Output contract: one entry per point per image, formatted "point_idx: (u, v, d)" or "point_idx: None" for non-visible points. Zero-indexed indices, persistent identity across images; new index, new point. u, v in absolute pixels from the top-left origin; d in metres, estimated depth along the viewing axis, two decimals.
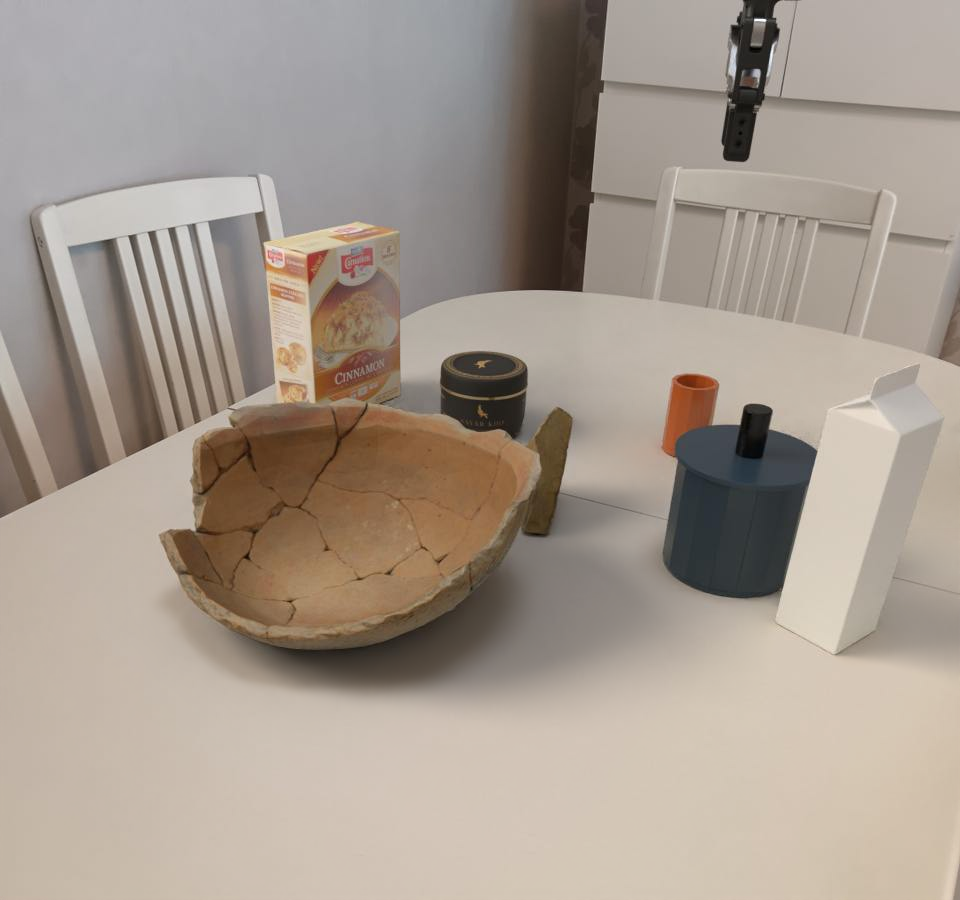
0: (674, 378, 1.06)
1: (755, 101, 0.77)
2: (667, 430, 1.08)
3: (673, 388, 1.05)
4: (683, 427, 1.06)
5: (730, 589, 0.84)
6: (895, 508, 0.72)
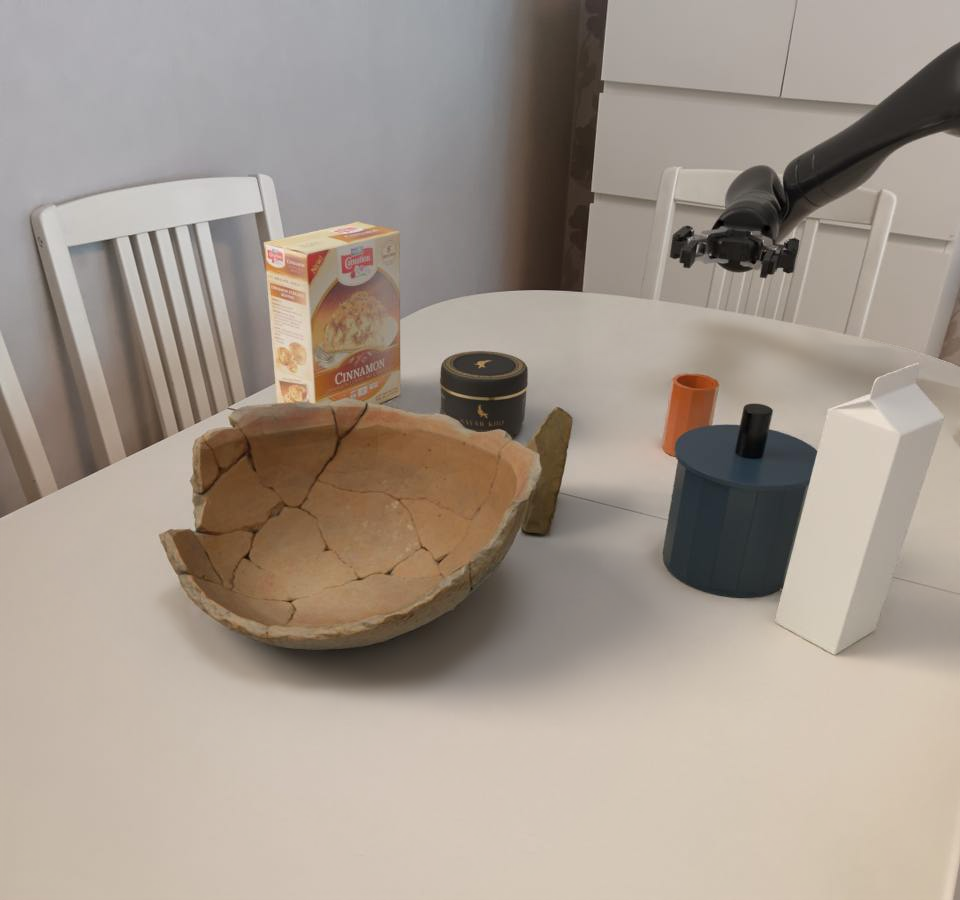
0: (674, 378, 1.06)
1: (672, 240, 1.12)
2: (667, 430, 1.08)
3: (673, 388, 1.05)
4: (683, 427, 1.06)
5: (730, 589, 0.84)
6: (895, 508, 0.72)
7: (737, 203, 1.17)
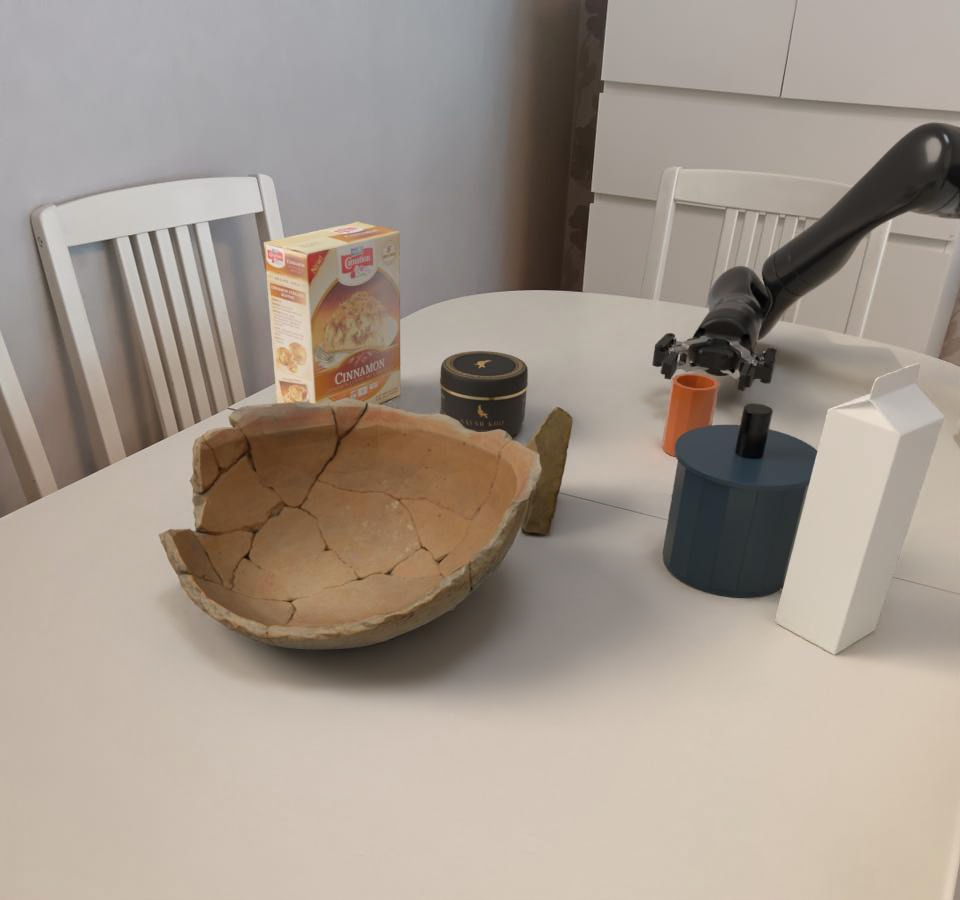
0: (674, 378, 1.06)
1: (654, 349, 1.17)
2: (667, 430, 1.08)
3: (673, 388, 1.05)
4: (683, 427, 1.06)
5: (730, 589, 0.84)
6: (895, 508, 0.72)
7: (718, 310, 1.22)
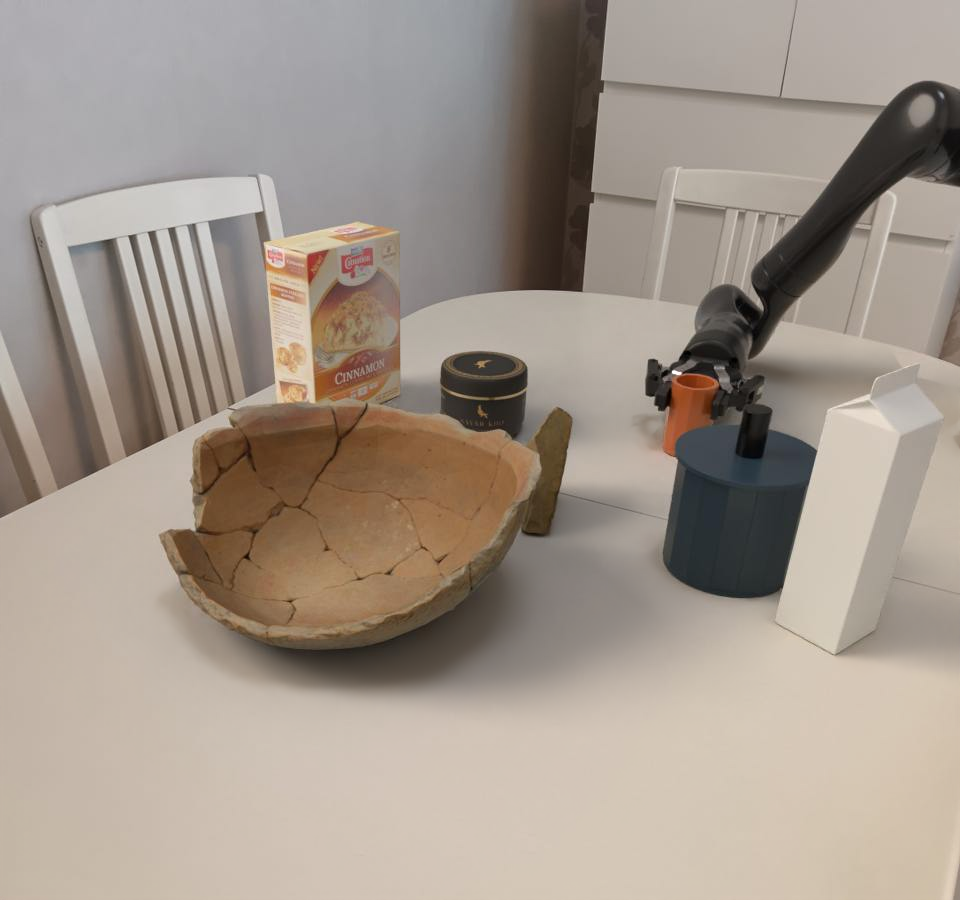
0: (674, 378, 1.06)
1: (647, 379, 1.09)
2: (667, 430, 1.08)
3: (673, 388, 1.05)
4: (683, 427, 1.06)
5: (730, 589, 0.84)
6: (895, 508, 0.72)
7: (705, 332, 1.15)
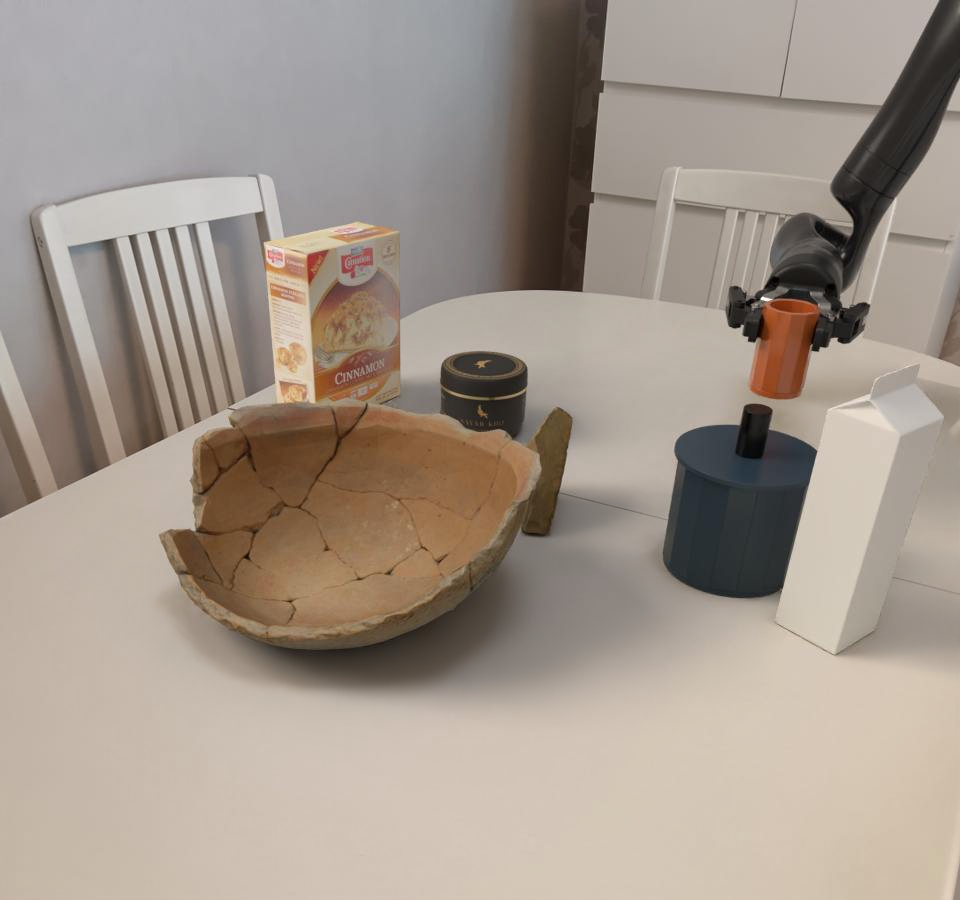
0: (767, 303, 0.90)
1: (732, 306, 0.93)
2: (757, 366, 0.91)
3: (766, 314, 0.89)
4: (777, 361, 0.90)
5: (730, 589, 0.84)
6: (895, 508, 0.72)
7: (794, 256, 0.99)
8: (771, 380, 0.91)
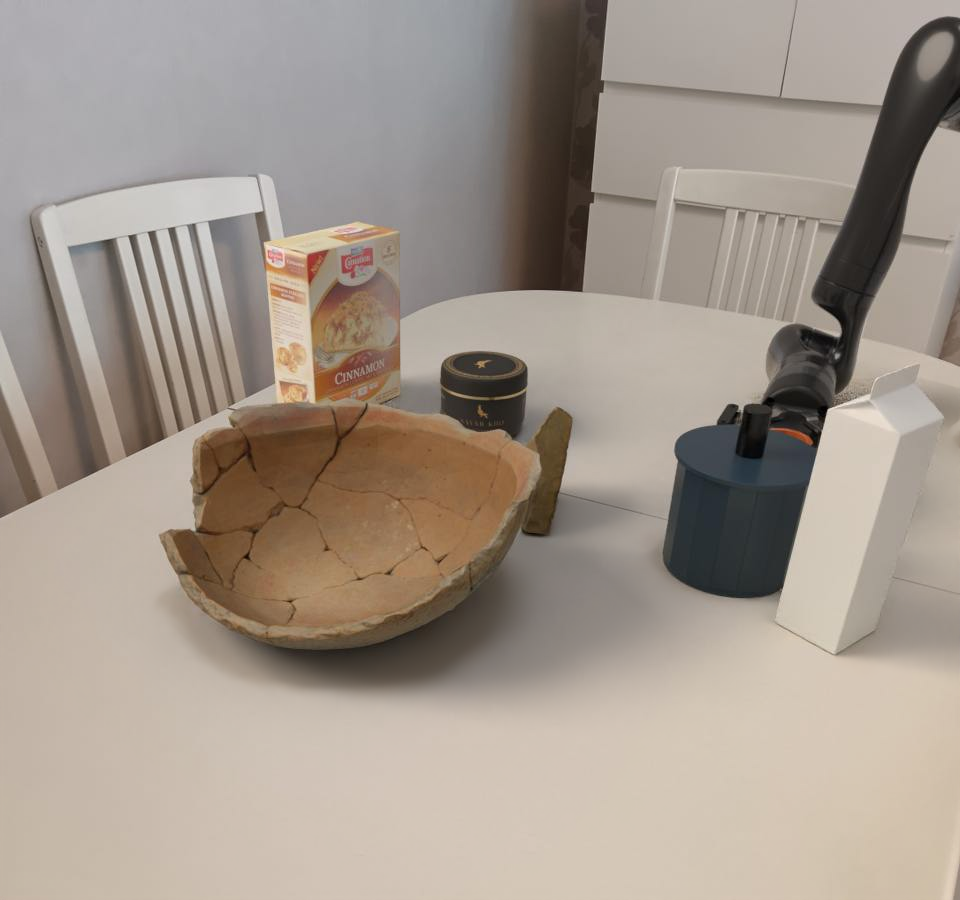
0: None
1: None
2: None
3: None
4: None
5: (730, 589, 0.84)
6: (895, 508, 0.72)
7: (789, 376, 1.03)
8: None
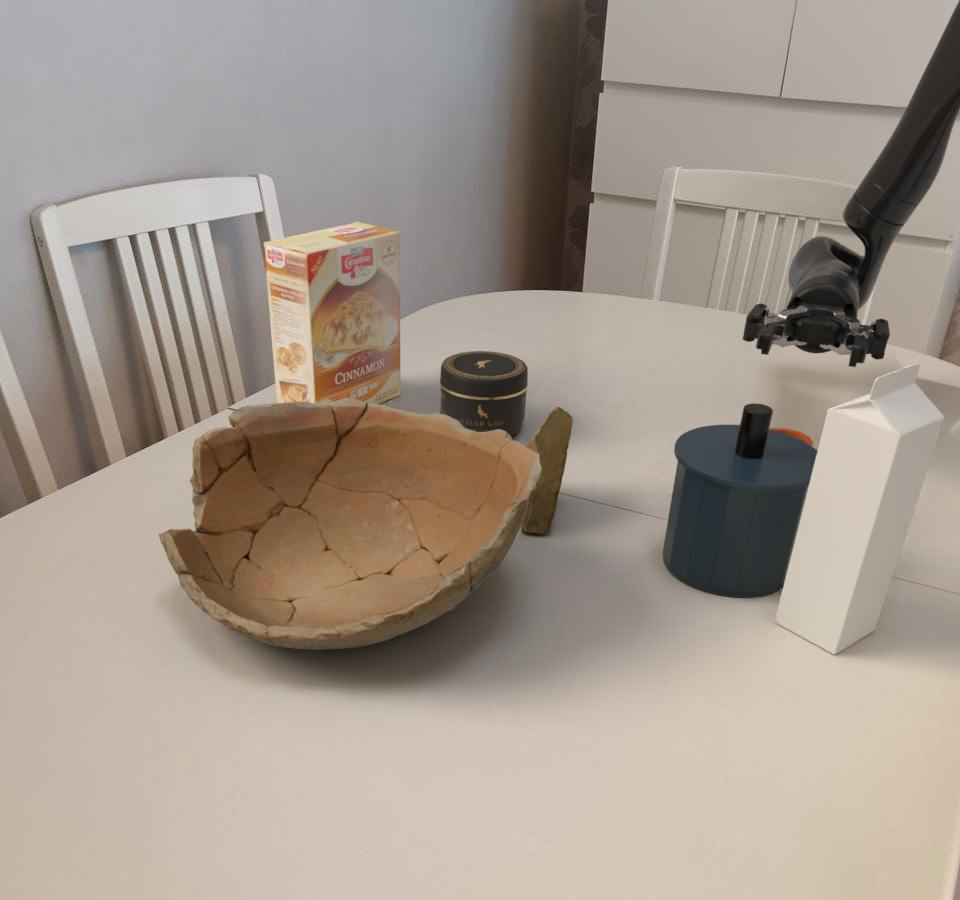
0: None
1: (746, 321, 1.01)
2: None
3: None
4: None
5: (730, 589, 0.84)
6: (895, 508, 0.72)
7: (815, 278, 1.06)
8: None
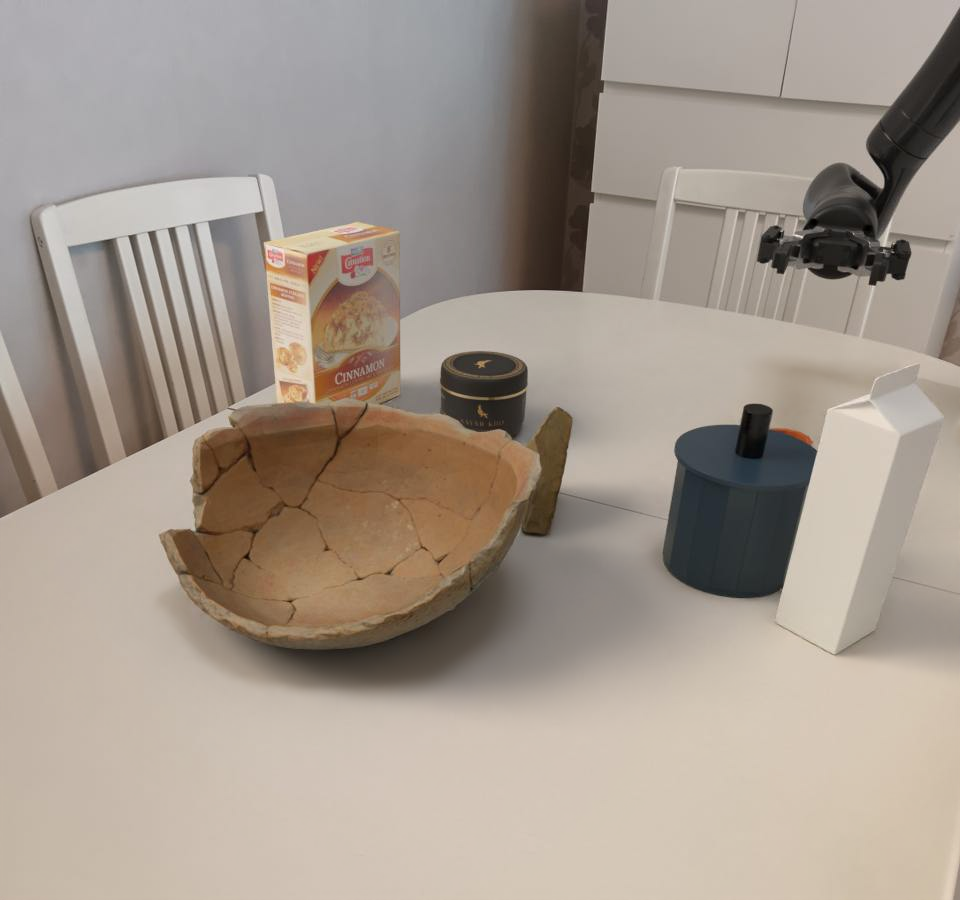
0: None
1: (760, 242, 0.97)
2: None
3: None
4: None
5: (730, 589, 0.84)
6: (895, 508, 0.72)
7: (832, 200, 1.02)
8: None
